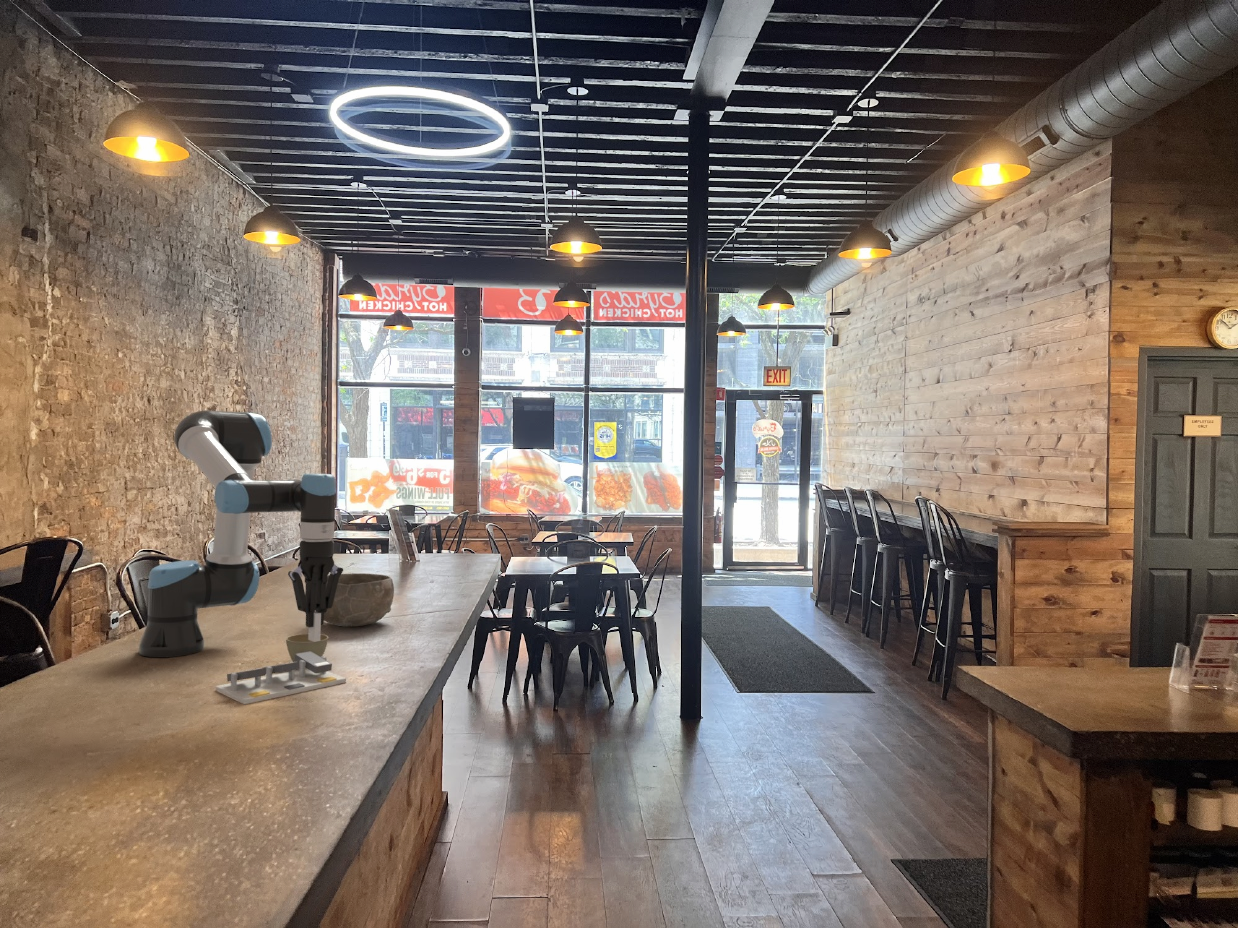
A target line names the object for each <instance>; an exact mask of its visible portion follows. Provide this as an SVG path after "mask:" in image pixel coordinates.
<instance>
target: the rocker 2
mask: <svg viewBox="0 0 1238 928" xmlns="http://www.w3.org/2000/svg"><path fill="white" fill-rule="evenodd" d="M291 662H292V663H289V662H286V663H281V664H274V665H270V667H272V674H280V673H286V672H289V671H291V670H295V671H296V670H299V669H300V665H299V662H293V661H291ZM266 667H267V666H265V667H263V668H265V673H266Z"/></svg>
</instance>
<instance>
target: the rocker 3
mask: <svg viewBox="0 0 1238 928" xmlns="http://www.w3.org/2000/svg"><path fill="white" fill-rule="evenodd" d="M300 660H303V661H305V667H306V668H305V669H309V670H311V671H312V672H314V673H315V674H316V673H321V672H326V671H328V672H331V671H332V669H333V668H332V667H333V663H331V662H329V661H327V659H326V660H324V659H323V658H321V657H319V656H318V655H316V654H314V653H313V652H311V651H310V652H304V653H298V654H295V660H294V661H296V662H299V661H300Z"/></svg>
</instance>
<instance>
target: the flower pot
mask: <svg viewBox="0 0 1238 928" xmlns="http://www.w3.org/2000/svg"><path fill="white" fill-rule="evenodd" d="M285 641H286V648H287V651H288V654H289V656H290V659H291V662H296V661H294V660H295V654H298V653H304V652H310V651H311V652H313V653H314V654H316V655H318V656H319V657H321V656H324V654H325V652H326V649H327V645H328V642H329V636H328V635H326V634H322V633H320V641H316V642H314V641H310V640H308V633H298V634H294V635H290V636H289V635H288V636H286V639H285ZM305 669H307V668H306V667H305Z"/></svg>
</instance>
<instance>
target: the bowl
mask: <svg viewBox="0 0 1238 928" xmlns="http://www.w3.org/2000/svg"><path fill="white" fill-rule="evenodd" d="M329 575H330V574H328V575H327V583H328V579H329ZM327 583H326V587H327ZM394 596H395V586H394V581H393V579H392V577H391V576H389V575H385V574H377V573H363V572H362V573H359V572H358V573H353V572H352V573H342V574H341V575H340V577H339V580H338V584H337V589H336V593H335V597H334V601H333V605H332V608H330V609H327V612H326V613H324V622H325V623H328V624H329V625H330V624H331V625H334V626H341V627H363V626H368V625H371V624H375V623H377V622H378V621H380V620H382V619H383V618H384V617H385V616H386V615H387V614H389V613H390V612H391V610H392V608H391V606H392V604H393V602H394ZM315 612H316V610H315Z"/></svg>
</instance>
